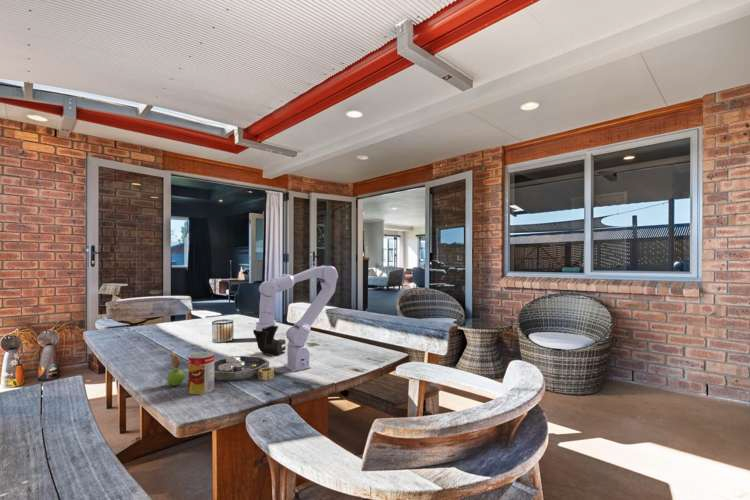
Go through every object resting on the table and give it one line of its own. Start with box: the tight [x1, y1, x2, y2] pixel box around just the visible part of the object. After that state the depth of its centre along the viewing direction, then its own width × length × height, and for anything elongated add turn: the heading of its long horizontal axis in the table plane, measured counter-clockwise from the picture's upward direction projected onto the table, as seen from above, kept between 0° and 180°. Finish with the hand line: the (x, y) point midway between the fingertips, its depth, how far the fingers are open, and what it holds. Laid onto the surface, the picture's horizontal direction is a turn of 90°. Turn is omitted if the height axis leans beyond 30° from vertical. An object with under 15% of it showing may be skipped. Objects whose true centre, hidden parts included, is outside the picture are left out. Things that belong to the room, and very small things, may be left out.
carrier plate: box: [214, 355, 270, 382], centre depth 142 cm, size 22×22×4 cm
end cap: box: [259, 338, 287, 356], centre depth 168 cm, size 10×7×7 cm
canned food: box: [187, 350, 215, 395], centre depth 122 cm, size 8×8×12 cm
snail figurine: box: [166, 348, 186, 387], centre depth 127 cm, size 5×6×12 cm
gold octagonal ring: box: [257, 366, 275, 381], centre depth 134 cm, size 5×5×3 cm
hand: (265, 346), depth 142 cm, fingers open, 7 cm apart
